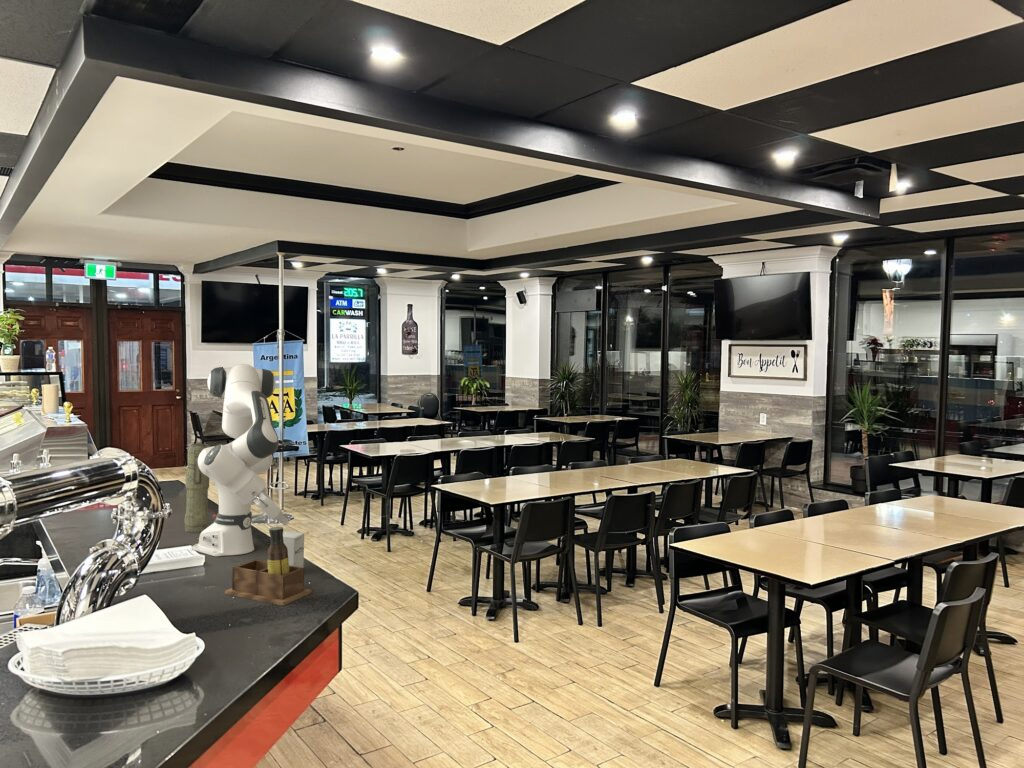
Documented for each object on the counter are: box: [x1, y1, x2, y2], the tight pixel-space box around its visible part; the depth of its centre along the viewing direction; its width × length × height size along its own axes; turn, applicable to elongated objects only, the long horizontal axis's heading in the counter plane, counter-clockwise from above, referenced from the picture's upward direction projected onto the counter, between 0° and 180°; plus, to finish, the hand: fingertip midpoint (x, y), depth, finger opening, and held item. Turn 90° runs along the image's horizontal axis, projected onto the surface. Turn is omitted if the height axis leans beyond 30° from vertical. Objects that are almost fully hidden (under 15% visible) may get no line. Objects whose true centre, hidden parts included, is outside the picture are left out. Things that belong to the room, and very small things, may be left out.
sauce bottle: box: [266, 526, 289, 575], centre depth 224 cm, size 6×6×20 cm
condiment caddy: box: [224, 558, 312, 607], centre depth 226 cm, size 22×13×8 cm, turn 68°
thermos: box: [183, 442, 210, 534], centre depth 295 cm, size 9×12×35 cm
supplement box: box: [283, 531, 305, 568], centre depth 248 cm, size 7×7×13 cm
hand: (283, 519), depth 223 cm, fingers open, 8 cm apart
